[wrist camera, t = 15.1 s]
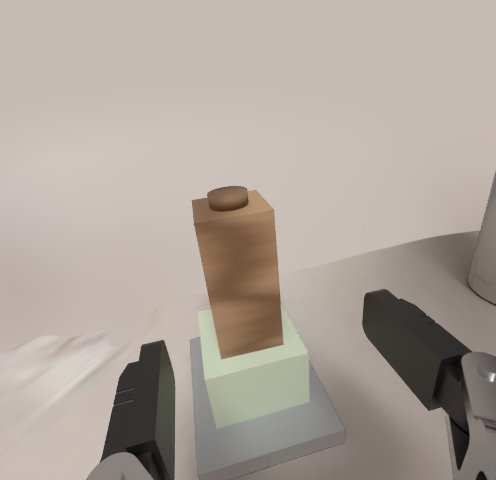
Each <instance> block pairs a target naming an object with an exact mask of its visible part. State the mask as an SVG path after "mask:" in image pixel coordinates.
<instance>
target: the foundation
mask: <svg viewBox="0 0 496 480" xmlns="http://www.w3.org/2000/svg"><path fill="white" fill-rule="evenodd" d="M280 302H281V301H280ZM281 316H282V330H283V344H284V345H281V346H277V347H272V348H268V349H264V350H260V351H256V352H251V353H247V354H243V355H239V356H235V357H230V358H226V359H222V360H221V355H220V350H219V345H218V340H217V335H216V330H215V325H214V320H213V315H212V310H211V309H207V310H203V311H198V321H199V331H200V337H198V338H194V339H190V351H191V369H192V386H193V403H194V420H195V437H196V455H197V472H198V478H199V480H230V479H233V478H236V477H239V476H242V475H245V474H248V473H251V472H255V471H258V470H261V469H264V468H267V467H270V466H273V465H276V464H279V463H283V462H286V461H289V460H292V459H295V458H298V457H301V456H304V455H308V454H311V453H314V452H317V451H320V450H323V449H326V448H329V447H332V446H336V445H339V444H342V443H345V432H346V429H345V427H344V425H343V423H342V421H341V419H340V417H339V416H338V414H337V412H336V410H335V408H334V406H333V404H332V402H331V400H330V399H329V397H328V395H327V393H326V391H325V389H324V387H323V385H322V383H321V382H320V380H319V378H318V376H317V374H316V372H315V370H314V368H313V366H312V365H311V363H310V361H309V353H308V351H307V349H306V347H305V345H304V343H303V342H302V340H301V338H300V336H299V334H298V332H297V330H296V329H295V327H294V325H293V323H292V321H291V319H290V318H289V316H288V314H287V312H286V310H285V308H284V307H283V305H282V303H281Z"/></svg>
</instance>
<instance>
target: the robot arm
mask: <svg viewBox="0 0 496 480" xmlns="http://www.w3.org/2000/svg"><path fill="white" fill-rule="evenodd" d="M468 283H469V285H470V287H471V288H472V289H473V290H474V291H475V292H476V293H477V294H478V295H480V296H481V297H483V298H484V299H486V300H488V301H490V302H492V303H494V304H496V172H495V176H494V180H493V183H492V187H491V191H490V195H489V199H488V203H487V207H486V211H485V214H484V218H483V222H482V226H481V230H480V234H479V238H478V242H477V245H476V249H475V253H474V257H473V261H472V265H471V269H470V272H469V276H468ZM362 324H363V329H364V332H365V334H366V336H367V338H368V339H369V340H370V341H371V343H372V344H373V345H374V346H375V347H376V349H377V350H378V351H379V352H380V353H381V355H382V356H383V357H384V358H385V359H386V361H387V362H388V363H389V364H390V365H391V366H392V368H393V369H394V370H395V371H396V372H397V374H398V375H399V376H400V377H401V378H402V380H403V381H404V382H405V383H406V384H407V386H408V387H409V388H410V389H411V390H412V392H413V393H414V394H415V395H416V396H417V398H418V399H419V400H420V401H421V402H422V404H423V405H424V406H425V407H426V408H427V409H428V411H430V410H433V409H437V408H440V407H442V408H443V409H444V410H445V412H446V417H445V421H446V428H447V435H448V443H449V450H450V457H451V464H452V471H453V480H496V357H495V356H493V355H490V354H486V353H481V352H472V351H471V350H469V349H468V348H467V347H466V346H465V345H463V344H462V343H461V342H460V341H458V340H457V339H456V338H455V337H454V336H452V335H451V334H450V333H449V332H447V331H446V330H445V329H444V328H443V327H441V326H440V325H439V324H438V323H435V321H434V320H433V319H432V318H430V317H429V316H426V314H425V313H424V312H423V311H422V310H420V309H419V308H418V307H417V306H416V305H414V304H412V303H410V302H407V301H405V300H403V299H397V298H396V297H395V296H394V295H393V294H391V293H390V292H389V291H388V290H386V289H382V290H378V291H374V292H369V293H366V294H365V297H364V308H363V321H362ZM174 469H175V378H174V372H173V368H172V365H171V362H170V358H169V355H168V352H167V348H166V345H165V342H164V340H161V341H157V342H152V343H148V344H144V345H142V346H141V351H140V358H139V361H137V362H133V363H129V364H128V365H127V366H126V368H125V369H124V371H123V373H122V374H121V376H120V377H119V381H118V386H117V390H116V395H115V400H114V407H113V409H112V413H111V418H110V422H109V427H108V431H107V436H106V441H105V445H104V450H103V454H102V458H101V461H100V463H99V464H98V465H97V466H96V467H95V468H94V469H93V471H92V472H91V473H90V475H89V476H88V478H87V479H86V480H174Z"/></svg>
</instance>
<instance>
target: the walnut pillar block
mask: <svg viewBox="0 0 496 480" xmlns="http://www.w3.org/2000/svg"><path fill="white" fill-rule="evenodd" d="M207 197H208V198H203V199H197V200H192V206H193V217H194V226H195V230H196V236H197V240H198V246H199V251H200V255H201V260H202V265H203V270H204V275H205V280H206V285H207V290H208V295H209V300H210V305H211V310H212V315H213V320H214V325H215V330H216V335H217V340H218V345H219V350H220V355H221V360H222V359H226V358H230V357H235V356H239V355H243V354H247V353H251V352H256V351H260V350H264V349H268V348H272V347H277V346H281V345H284V344H283V330H282V316H281V302H280V288H279V274H278V260H277V246H276V233H275V219H274V209H273V208H272V207H271V206H270V205H269V204H268V203H267V202H266V201H265V200H264V198H263V197H262V196H261V195H260V194H259V193H258V192H257V191H256V190H253V191H247V189H246V188H245V187H241V186H229V187H222V188H218V189H215V190H212V191H210V192H209V193H208V194H207Z"/></svg>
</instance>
